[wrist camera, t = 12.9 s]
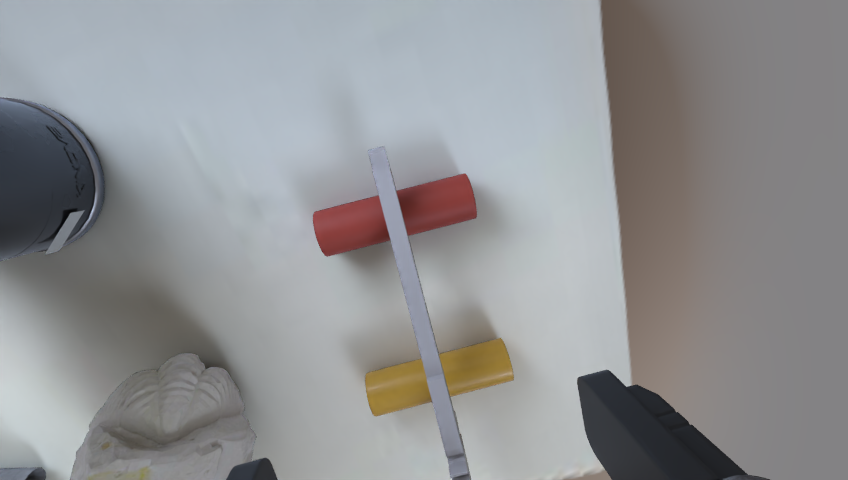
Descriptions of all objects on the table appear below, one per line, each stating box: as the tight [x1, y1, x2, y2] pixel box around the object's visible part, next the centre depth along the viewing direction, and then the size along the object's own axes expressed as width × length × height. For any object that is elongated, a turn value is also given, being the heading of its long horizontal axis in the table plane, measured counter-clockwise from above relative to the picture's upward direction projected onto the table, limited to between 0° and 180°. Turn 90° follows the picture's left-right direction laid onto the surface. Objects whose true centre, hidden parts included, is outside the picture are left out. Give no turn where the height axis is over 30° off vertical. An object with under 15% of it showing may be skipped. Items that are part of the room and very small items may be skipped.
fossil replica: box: [70, 353, 256, 480], centre depth 26 cm, size 12×8×10 cm
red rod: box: [313, 174, 477, 256], centre depth 26 cm, size 10×3×3 cm, turn 104°
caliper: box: [368, 146, 471, 480], centre depth 23 cm, size 20×1×6 cm, turn 14°
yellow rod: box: [365, 338, 514, 416], centre depth 29 cm, size 10×3×3 cm, turn 104°
